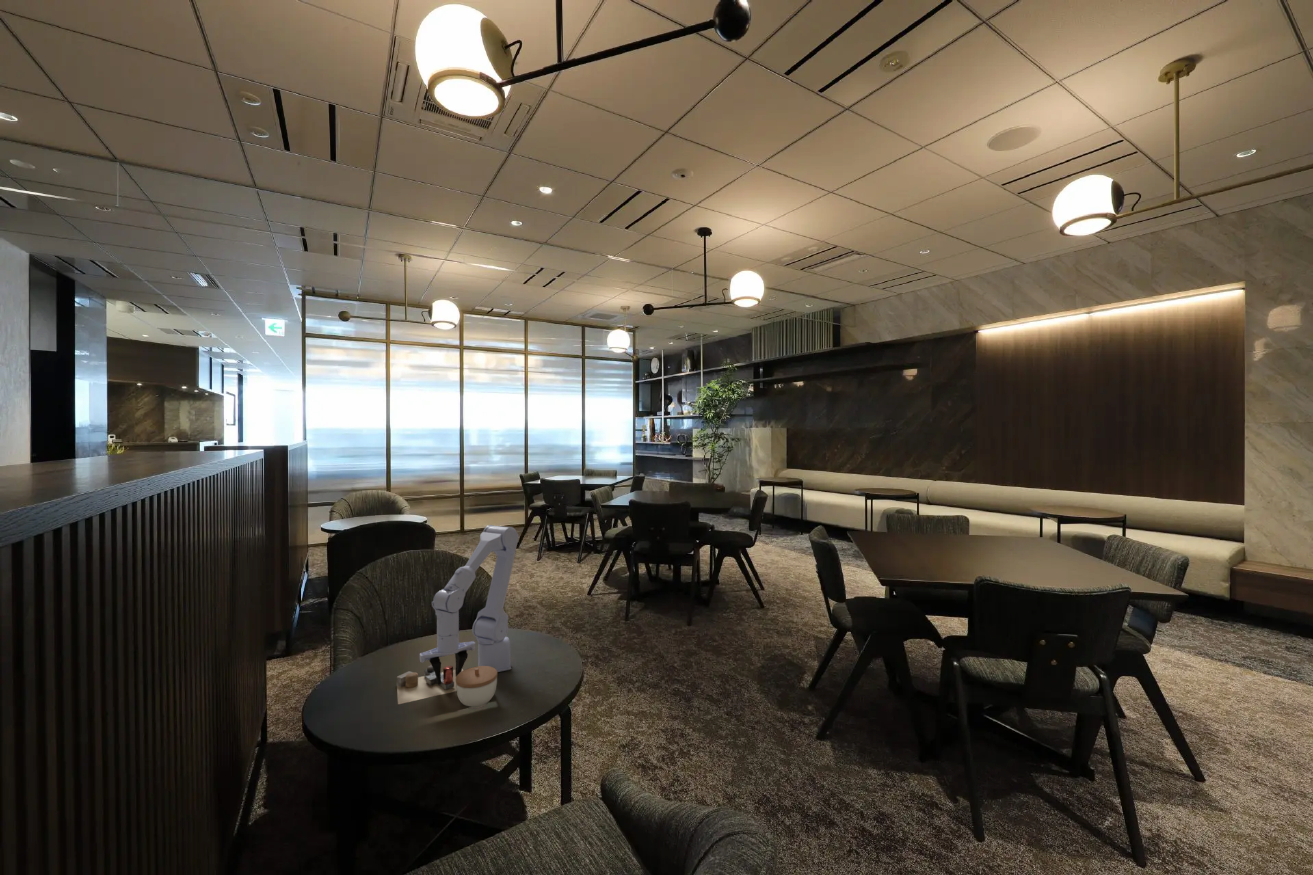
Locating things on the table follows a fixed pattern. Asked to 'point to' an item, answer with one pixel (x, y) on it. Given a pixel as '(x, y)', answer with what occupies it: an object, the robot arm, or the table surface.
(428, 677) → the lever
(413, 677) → the cork
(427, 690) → the board
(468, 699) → the lidded jar
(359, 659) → the table surface
